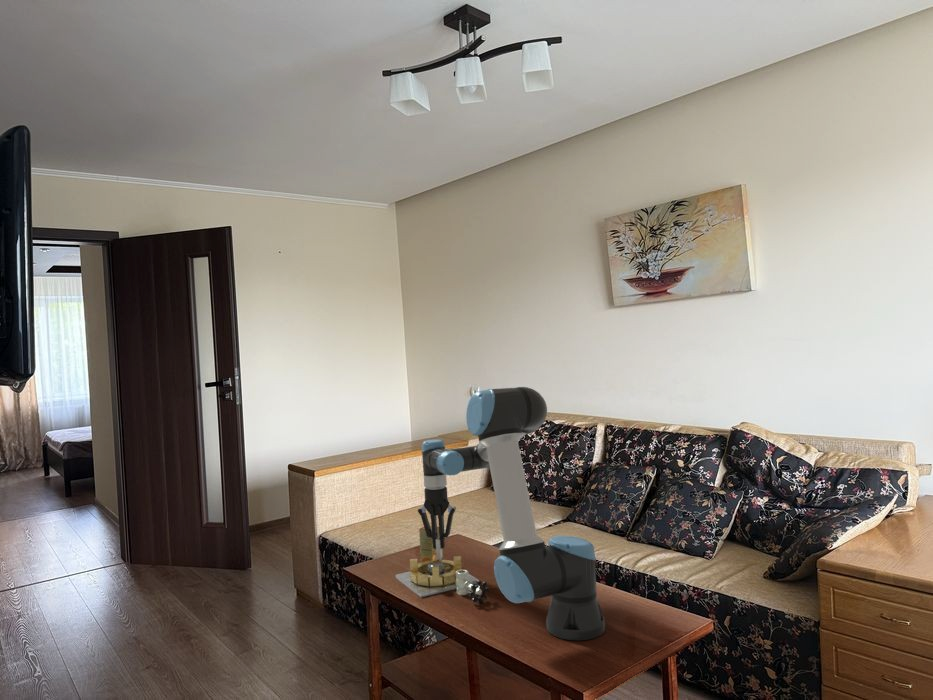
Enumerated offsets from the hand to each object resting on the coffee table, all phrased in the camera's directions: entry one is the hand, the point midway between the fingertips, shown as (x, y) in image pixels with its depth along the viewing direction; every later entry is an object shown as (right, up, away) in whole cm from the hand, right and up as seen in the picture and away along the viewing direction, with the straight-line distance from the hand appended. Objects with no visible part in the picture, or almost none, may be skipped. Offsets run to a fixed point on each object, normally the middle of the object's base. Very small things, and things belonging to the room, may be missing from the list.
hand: (439, 558), depth 212 cm
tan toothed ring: (-1, -4, -7) cm, 8 cm away
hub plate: (-1, -5, -7) cm, 8 cm away
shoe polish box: (-4, -5, +11) cm, 13 cm away
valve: (+10, -5, -21) cm, 24 cm away
